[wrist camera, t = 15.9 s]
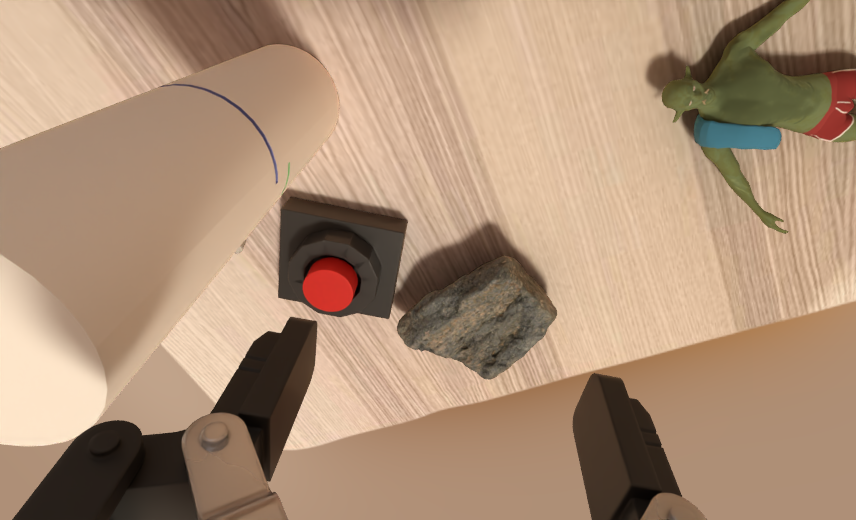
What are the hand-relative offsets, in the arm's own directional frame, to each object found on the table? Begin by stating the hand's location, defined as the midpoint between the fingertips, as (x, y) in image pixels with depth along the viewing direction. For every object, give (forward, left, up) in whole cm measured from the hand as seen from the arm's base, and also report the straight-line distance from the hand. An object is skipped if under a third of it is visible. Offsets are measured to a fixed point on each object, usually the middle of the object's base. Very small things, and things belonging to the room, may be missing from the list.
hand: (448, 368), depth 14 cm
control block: (-7, -11, -23) cm, 26 cm away
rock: (+4, -13, -23) cm, 26 cm away
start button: (-7, -11, -19) cm, 23 cm away
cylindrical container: (-12, 0, -23) cm, 26 cm away
